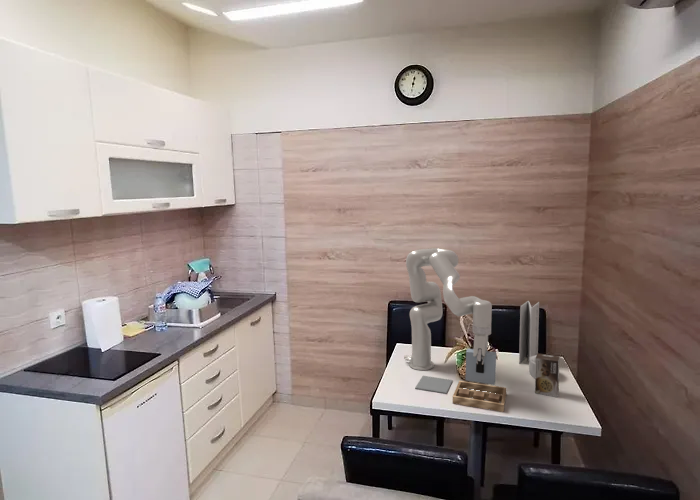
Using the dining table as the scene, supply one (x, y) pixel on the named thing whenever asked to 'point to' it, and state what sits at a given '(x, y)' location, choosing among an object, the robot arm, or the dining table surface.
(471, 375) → the panel
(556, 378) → the cookie box
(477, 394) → the offcut
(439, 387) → the mat
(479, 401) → the tray
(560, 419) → the dining table surface
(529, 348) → the brochure
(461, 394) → the offcut
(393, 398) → the dining table surface
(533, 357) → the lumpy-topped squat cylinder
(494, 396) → the offcut
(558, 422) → the dining table surface
